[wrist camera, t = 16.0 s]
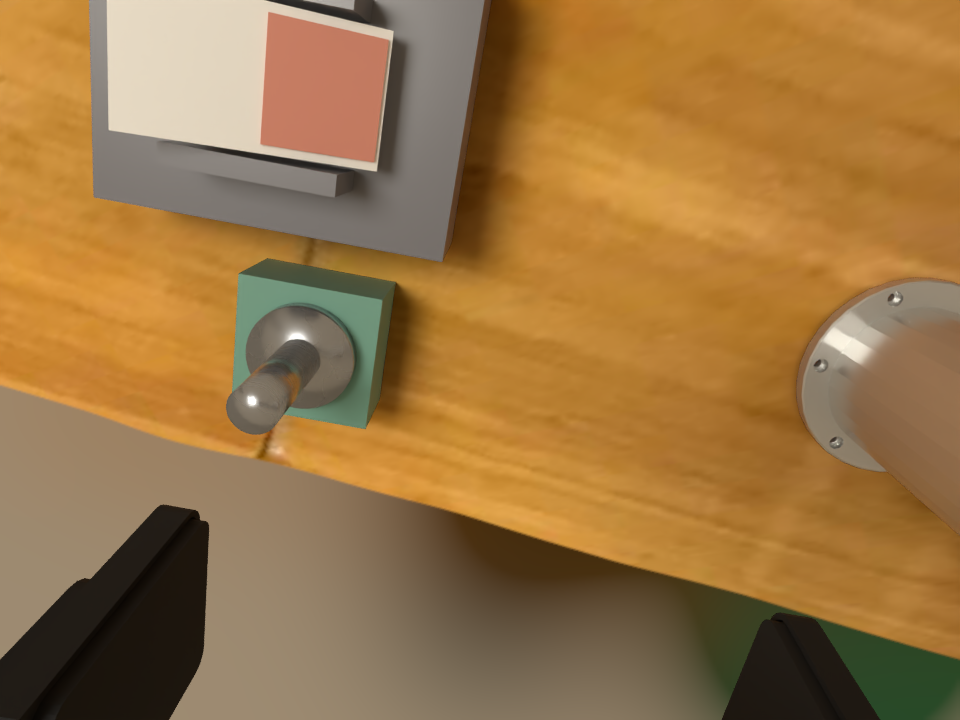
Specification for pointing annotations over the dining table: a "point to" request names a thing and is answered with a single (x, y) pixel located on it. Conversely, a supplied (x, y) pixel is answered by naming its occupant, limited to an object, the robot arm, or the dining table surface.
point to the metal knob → (292, 365)
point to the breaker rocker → (249, 78)
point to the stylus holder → (343, 295)
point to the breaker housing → (317, 186)
